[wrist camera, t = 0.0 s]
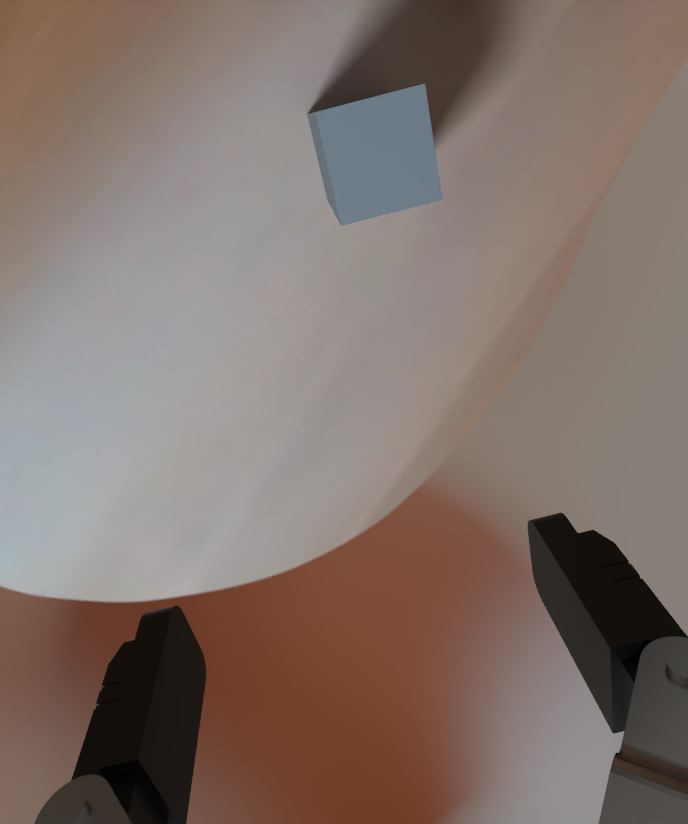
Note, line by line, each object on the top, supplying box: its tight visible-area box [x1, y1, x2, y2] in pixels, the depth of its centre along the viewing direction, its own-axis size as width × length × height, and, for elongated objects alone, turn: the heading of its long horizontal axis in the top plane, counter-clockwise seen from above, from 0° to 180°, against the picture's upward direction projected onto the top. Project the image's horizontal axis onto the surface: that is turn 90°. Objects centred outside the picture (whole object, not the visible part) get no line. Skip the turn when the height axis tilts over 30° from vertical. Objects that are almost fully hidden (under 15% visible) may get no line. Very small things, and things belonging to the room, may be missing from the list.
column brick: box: [307, 84, 442, 226], centre depth 32 cm, size 5×5×10 cm
